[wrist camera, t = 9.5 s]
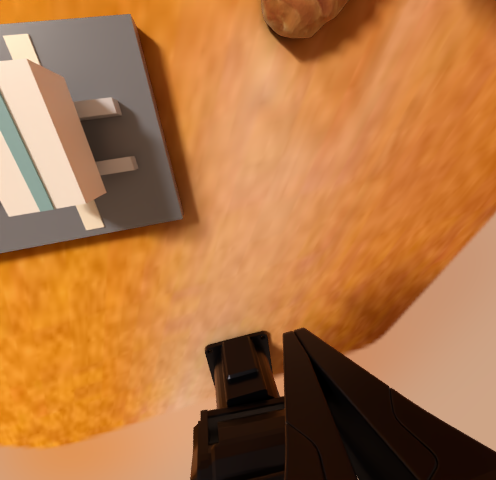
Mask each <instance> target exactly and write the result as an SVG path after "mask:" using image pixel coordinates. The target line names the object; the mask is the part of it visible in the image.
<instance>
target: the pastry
mask: <svg viewBox="0 0 496 480" xmlns="http://www.w3.org/2000/svg"><path fill="white" fill-rule="evenodd" d="M348 1H349V0H262V13H263V16H264V19H265V22H266V23H267V24H268V25H269V26H270V27H271V28H272V30H273V31H275V32H276V33H277V34H279V35H280V36H284V37H289V38H309V37H312V36H313V35H314V34H315V33H316V32H317V31H318V30H319V29H320V28H321V27H322V26H323V25H324V24H325V23H327V22H328V21H330V20H332V19H333V18H335V17H336V16H337V15H338V13H339V12H340V11H341V10H342V8H343V7H344V5H345V4H346V3H347V2H348Z"/></svg>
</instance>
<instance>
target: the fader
mask: <svg viewBox="0 0 496 480" xmlns="http://www.w3.org/2000/svg"><path fill="white" fill-rule="evenodd" d="M105 193H107V192H106V190H105V187H104V184H103V182H102V179H101V176H100V174H99V171H98V168H97V165H96V163H95V160H94V157H93V155H92V152H91V149H90V146H89V144H88V141H87V138H86V136H85V133H84V130H83V128H82V125H81V122H80V119H79V117H78V114H77V111H76V109H75V106H74V103H73V101H72V98H71V95H70V92H69V90H68V87H67V84H66V82H65V79H64V77H62V76H60V75H58V74H56V73H54V72H52V71H50V70H48V69H46V68H44V67H42V66H40V65H38V64H36V63H34V62H32V61H30V60H28V59H17V60H7V61H0V202H1V203H2V205H3V207H4V209H5V211H6V212H7V214H8V216H9V217H11V216H17V215H23V214H29V213H34V212H42V211H48V210H54V209H58V208H64V207H69V206H75V205H81V204H86V203H88V202H90V201H92V200H94V199H96V198H97V197H99V196H101V195H103V194H105Z"/></svg>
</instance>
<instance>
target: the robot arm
mask: <svg viewBox="0 0 496 480" xmlns="http://www.w3.org/2000/svg"><path fill="white" fill-rule="evenodd" d="M261 336H263V337H261ZM205 354H206V358H207V361H208V365H209V368H210V372H211V375H212V379H213V382H214V386H215V390H216V403H217V409H214V410H209V411H207V410H202V411H201V421H198V424H197V425H196V426H195V427H194V430H193V431H194V433H193V434H194V435H193V439H194V440H193V458H192V467H191V477H190V480H358V479H359V480H496V452H495V451H493V450H492V449H490V448H488V447H487V446H485V445H483V444H481V443H480V442H478V441H476V440H475V439H473V438H471V437H469V436H467V435H466V434H464V433H462V432H461V431H459V430H457V429H456V428H454V427H452V426H450V425H448V424H447V423H445V422H444V421H442V420H440V419H439V418H437V417H435V416H434V415H432V414H430V413H429V412H427V411H425V410H424V409H422V408H420V407H419V406H418V405H416V404H414V403H413V402H411V401H410V400H408V399H407V398H405V397H404V396H402V395H401V394H400V393H398V392H397V391H395V390H394V389H392V388H389V386H388V385H386V384H385V383H383V382H382V381H380V380H379V379H378V378H376V377H375V376H373V375H372V374H370V373H369V372H368V371H366V370H365V369H363V368H362V367H360V366H359V365H357V364H356V363H354V362H353V361H352V360H350V359H349V358H347V357H346V356H344V355H343V354H341V353H340V352H339V351H337V350H336V349H334V348H333V347H331V346H330V345H328V344H327V343H326V342H324V341H323V340H321V339H320V338H318V337H317V336H315V335H314V334H312V333H311V332H310V331H308V330H307V329H305V328H300V329H296V330H294V332H293V331H289V332H286V333H283V365H284V396H283V397H280V396H279V393H278V390H277V387H276V384H275V381H274V377H273V373H272V366H271V359H270V352H269V345H268V337H267V334H266V332H264V331H261V332H257V333H253V334H249V335H245V336H241V337H238V338H234V339H230V340H226V341H222V342H218V343H214V344H210V345H207V346H206V347H205ZM356 475H357V476H356ZM357 477H358V479H357Z"/></svg>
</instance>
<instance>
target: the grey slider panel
mask: <svg viewBox="0 0 496 480" xmlns="http://www.w3.org/2000/svg"><path fill="white" fill-rule="evenodd" d="M17 59H28V60H30V61H32V62H34V63H36V64H38V65H40V66H42V67H44V68H46V69H48V70H50V71H52V72H54V73H56V74H58V75H60V76H62V77H64V79H65V82H66V84H67V87H68V90H69V92H70V95H71V98H72V101H73V103H74V106H75V109H76V111H77V114H78V117H79V119H80V122H81V125H82V128H83V130H84V133H85V136H86V138H87V141H88V144H89V146H90V149H91V152H92V155H93V157H94V160H95V163H96V165H97V168H98V171H99V174H100V176H101V179H102V182H103V184H104V187H105V190H106V192H107V193H105V194H103V195H101V196H99V197H97V198H96V199H94V200H92V201H90V202H88V203H86V204H81V205H75V206H69V207H64V208H58V209H54V210H48V211H42V212H34V213H29V214H23V215H17V216H11V217H9V216H8V214H7V212H6V211H5V209H4V207H3V205H2V203H1V202H0V253H4V252H10V251H15V250H20V249H26V248H31V247H36V246H42V245H47V244H52V243H58V242H63V241H68V240H73V239H79V238H84V237H89V236H95V235H100V234H105V233H111V232H116V231H121V230H127V229H132V228H137V227H142V226H148V225H153V224H158V223H164V222H169V221H174V220H180V219H183V215H184V213H183V209H182V205H181V201H180V197H179V193H178V189H177V185H176V181H175V177H174V173H173V169H172V165H171V161H170V157H169V153H168V149H167V145H166V141H165V137H164V133H163V129H162V125H161V122H160V118H159V114H158V110H157V106H156V102H155V98H154V94H153V90H152V86H151V82H150V78H149V74H148V70H147V66H146V62H145V58H144V54H143V50H142V46H141V42H140V38H139V34H138V30H137V26H136V24H135V22H134V20H133V19H132V17H131V15H130V14H125V15H113V16H100V17H88V18H75V19H63V20H50V21H37V22H25V23H12V24H0V61H7V60H17Z"/></svg>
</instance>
